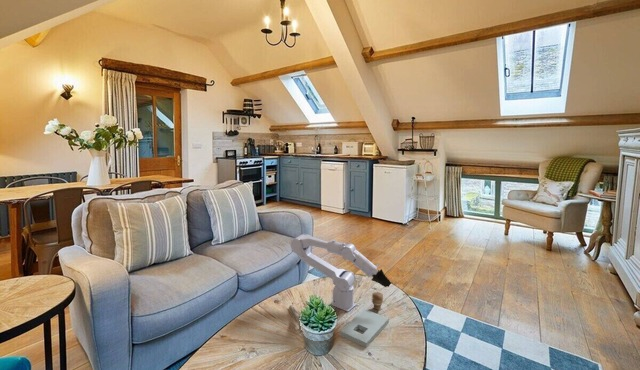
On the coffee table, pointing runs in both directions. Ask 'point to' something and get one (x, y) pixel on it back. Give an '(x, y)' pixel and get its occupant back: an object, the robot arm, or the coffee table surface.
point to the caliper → (296, 316)
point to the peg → (377, 300)
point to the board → (364, 327)
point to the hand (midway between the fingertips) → (388, 285)
